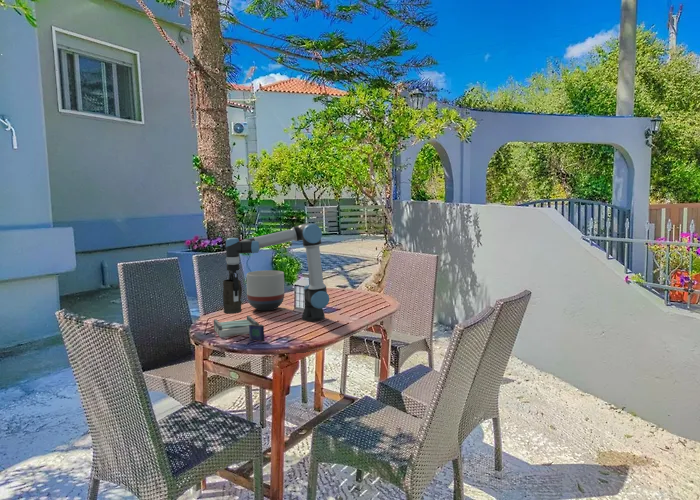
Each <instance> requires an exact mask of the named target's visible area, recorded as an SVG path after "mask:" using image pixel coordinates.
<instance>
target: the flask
mask: <svg viewBox="0 0 700 500" xmlns="http://www.w3.org/2000/svg"><path fill="white" fill-rule="evenodd" d="M264 327H265V326H264V325H263V324H260V323H259V322H258V321H256V322H255V324H250V325H249V334H248V335H249V338H248V339H249V340H250V341H254V340H256V341H255V342H264V341H265V328H264Z"/></svg>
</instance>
